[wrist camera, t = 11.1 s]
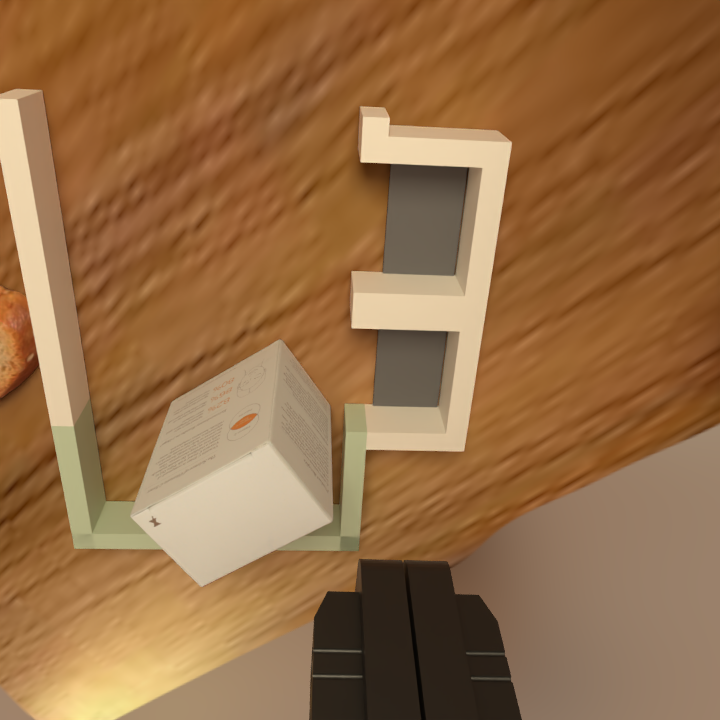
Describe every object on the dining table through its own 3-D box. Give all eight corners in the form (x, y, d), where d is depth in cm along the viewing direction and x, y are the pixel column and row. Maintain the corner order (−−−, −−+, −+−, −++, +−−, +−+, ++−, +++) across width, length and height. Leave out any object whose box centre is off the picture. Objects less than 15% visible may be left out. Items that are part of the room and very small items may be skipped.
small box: (225, 462, 43) (198, 592, 34) (169, 398, 41) (123, 519, 32) (334, 405, 42) (336, 525, 32) (282, 334, 39) (269, 442, 30)
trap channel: (16, 89, 32) (-12, 97, 30) (500, 113, 34) (514, 124, 31) (89, 515, 45) (74, 548, 42) (441, 519, 46) (448, 551, 44)
